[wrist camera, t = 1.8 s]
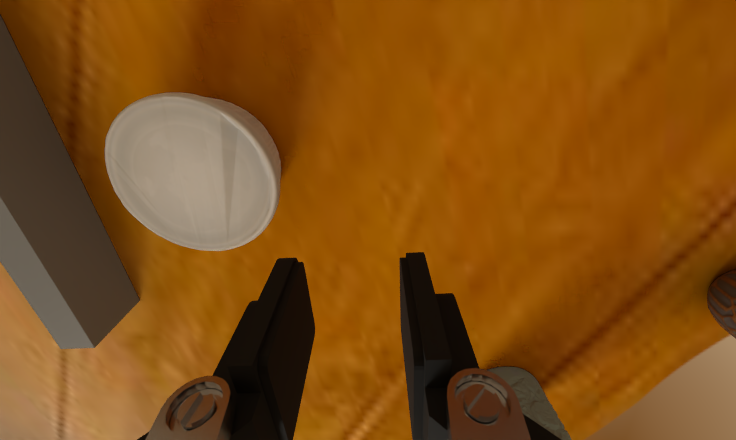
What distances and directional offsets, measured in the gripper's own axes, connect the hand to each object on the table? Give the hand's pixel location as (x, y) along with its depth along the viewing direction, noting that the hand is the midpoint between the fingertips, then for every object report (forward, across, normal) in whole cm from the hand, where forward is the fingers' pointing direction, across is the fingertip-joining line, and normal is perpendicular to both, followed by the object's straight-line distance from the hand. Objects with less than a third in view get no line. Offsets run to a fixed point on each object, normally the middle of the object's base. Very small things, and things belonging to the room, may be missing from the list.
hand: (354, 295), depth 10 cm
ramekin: (+18, +12, 0) cm, 21 cm away
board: (+17, +26, 0) cm, 31 cm away
